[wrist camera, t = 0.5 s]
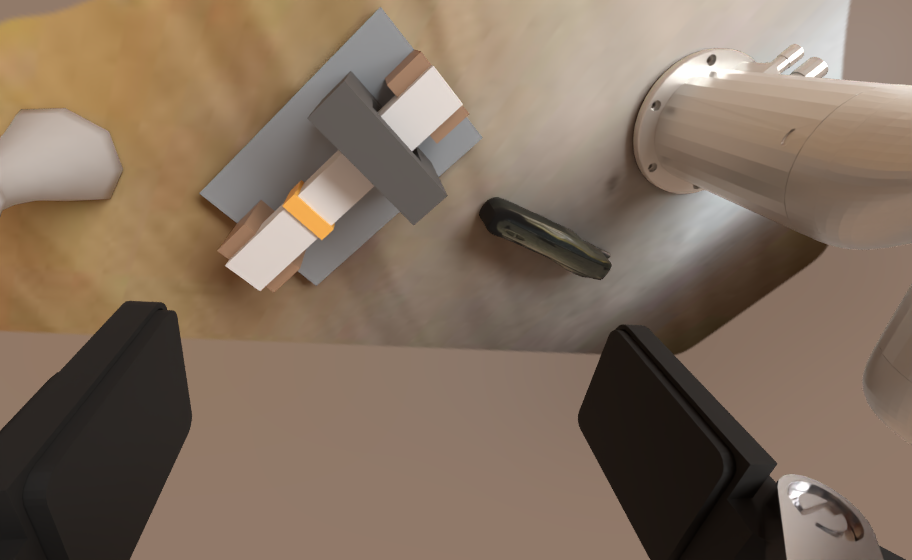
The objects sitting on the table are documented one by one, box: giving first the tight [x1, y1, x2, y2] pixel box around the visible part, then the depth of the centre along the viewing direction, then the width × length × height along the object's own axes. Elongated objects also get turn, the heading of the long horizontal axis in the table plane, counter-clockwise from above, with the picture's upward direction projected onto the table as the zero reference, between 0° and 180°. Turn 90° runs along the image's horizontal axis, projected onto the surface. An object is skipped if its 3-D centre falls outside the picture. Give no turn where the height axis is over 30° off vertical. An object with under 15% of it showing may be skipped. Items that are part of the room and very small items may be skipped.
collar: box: [307, 71, 447, 225], centre depth 31 cm, size 3×9×9 cm, turn 40°
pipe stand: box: [199, 7, 482, 293], centre depth 33 cm, size 20×12×8 cm, turn 130°
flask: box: [0, 108, 123, 216], centre depth 29 cm, size 7×7×10 cm
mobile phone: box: [479, 197, 611, 280], centre depth 42 cm, size 5×3×15 cm
